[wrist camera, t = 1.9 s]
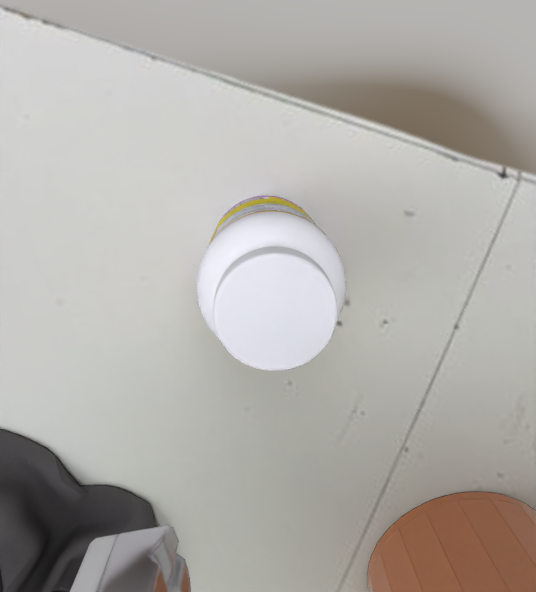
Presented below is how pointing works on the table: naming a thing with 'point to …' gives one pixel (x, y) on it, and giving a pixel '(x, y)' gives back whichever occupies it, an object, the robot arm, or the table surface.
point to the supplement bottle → (271, 284)
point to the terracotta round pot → (458, 547)
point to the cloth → (53, 517)
